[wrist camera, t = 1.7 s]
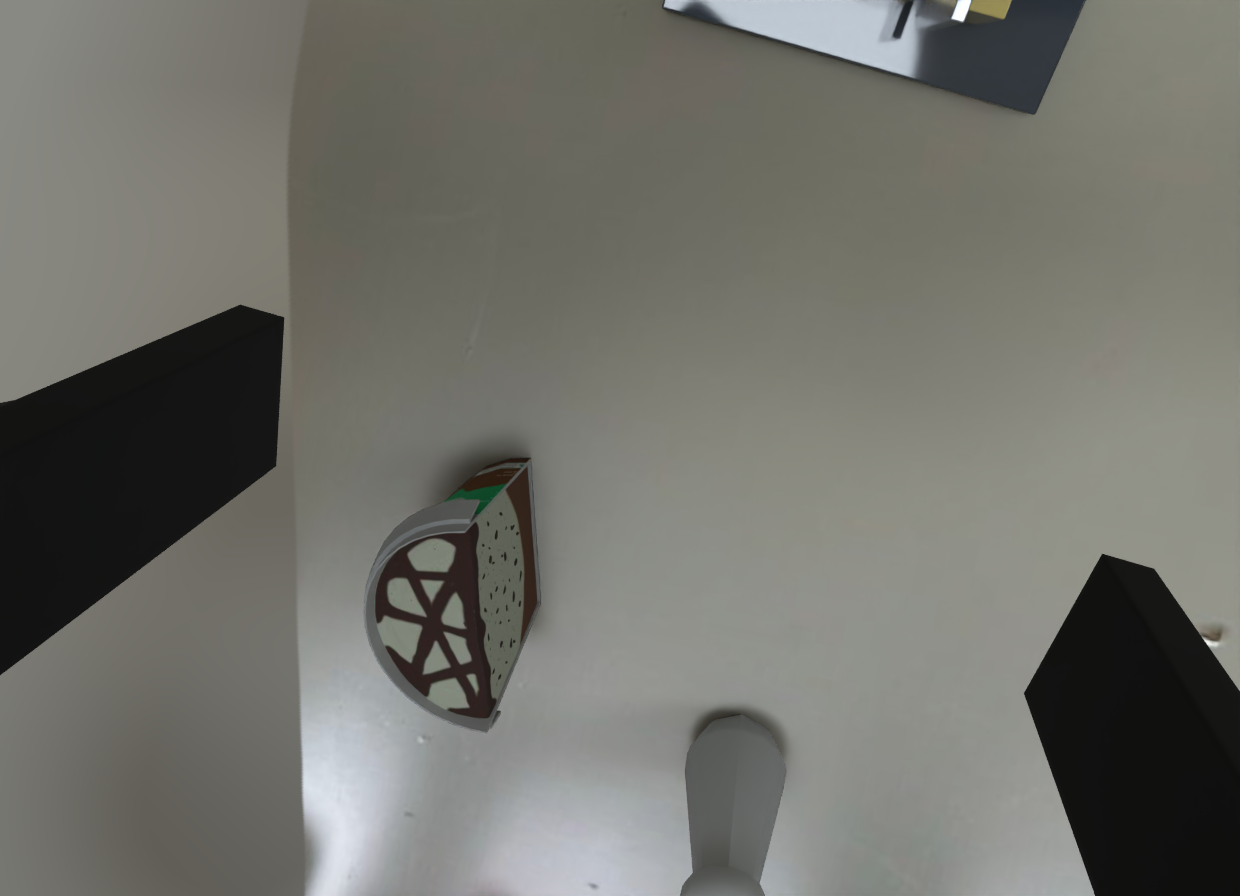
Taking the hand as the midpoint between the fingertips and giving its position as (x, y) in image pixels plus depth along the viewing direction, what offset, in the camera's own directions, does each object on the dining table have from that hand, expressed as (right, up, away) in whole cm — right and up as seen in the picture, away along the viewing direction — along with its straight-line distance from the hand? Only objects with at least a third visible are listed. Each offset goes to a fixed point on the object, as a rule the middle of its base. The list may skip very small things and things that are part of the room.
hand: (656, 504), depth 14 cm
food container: (-8, -4, +36) cm, 37 cm away
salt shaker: (+7, -17, +39) cm, 43 cm away
